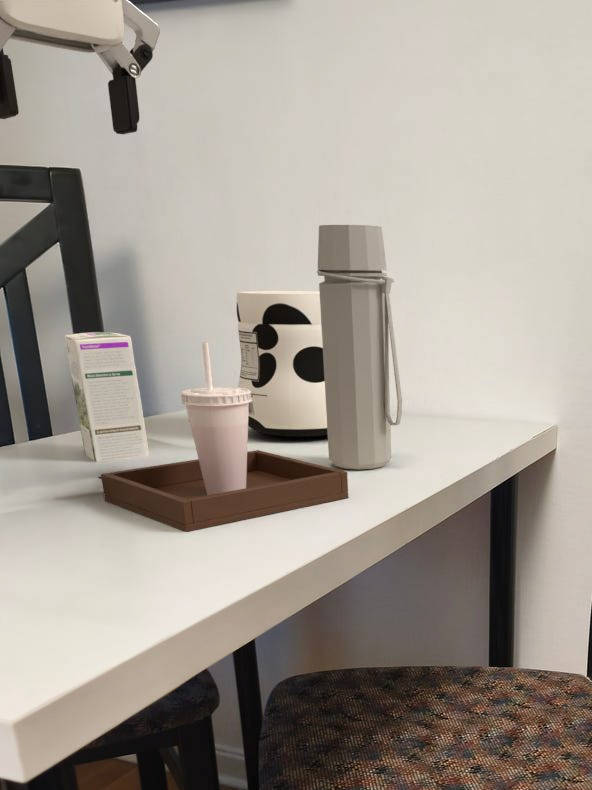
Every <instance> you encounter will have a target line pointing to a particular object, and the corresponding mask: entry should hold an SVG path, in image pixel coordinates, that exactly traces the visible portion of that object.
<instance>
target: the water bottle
mask: <svg viewBox="0 0 592 790" xmlns="http://www.w3.org/2000/svg"><path fill="white" fill-rule="evenodd" d="M317 240H318V243H317V271H316V273H317V276H318V277H323V279H324V281H322V282H320V283H318V288H319V289H318V291H320V309H321V326H322V344H323V362H324V379H325V397H326V415H327V432H328V435H327V446H328V447H327V448H328V449H327V450H328V459H329V460H330V462H331V463H332V464H333V465H334V466H335V467H337V468H340V469H344V470H355V471H356V470H357V471H363V470H374V469H380V468H383V467H384V466H386V465H387V464H389V462H390V461H391V459H392V435H391V434H392V433H391V426H398V425H399V426H400V424H401V419H402V413H403V411H402V410H403V395H402V388H401V381H400V373H399V372H400V371H399V364H398V357H397V356H398V355H397V348H396V340H395V339H396V338H395V333H394V323H393V316H392V307H391V299H390V294H391V289H392V284H393V283H394V282H395V280H394V278H392V277H389V276H388V274H387V273H385V272H384V271H386V272H387V270H388V269H387V262H386V261H387V260H386V252H385V245H384V235H383V227H382V226H381V225H367V224H363V225H362V224H321V225H318V239H317ZM390 345H391V346H390ZM390 347H391V355H392V363H393V364H392V365H393V372H394V373H393V374H394V382H395V391H396V400H397V406H396V408H397V409H396V419H395V422H393V419H392V416H391V400H390V398H391V397H390Z"/></svg>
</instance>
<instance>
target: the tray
mask: <svg viewBox="0 0 592 790" xmlns="http://www.w3.org/2000/svg"><path fill="white" fill-rule="evenodd" d="M100 477H101V485H102V492H103V499H104V501H105V502H108V503H110V504H113V505H116V506H119V507H121V508H122V509H123V508H124V509H126V510H129V511H130V512H131V511H132V512H133V513H137V514H139V515H142V516H145V517H147V518H150V519H152V520H155V521H157V522H160V523H162V524H165V525H168V526H170V527H173V528H175V529H177V530H181V531H184V532H191V531H195V530H201V529H205V528H206V529H207V528H210V527H215V526H220V525H225V524H229V523H230V524H231V523H235V522H238V521H239V522H240V521H245V520H249V519H253V518H258V517H263V516H268V515H272V514H277V513H283V512H286V511H293V510H296V509H301V508H306V507H311V506H317V505H320V504H326V503H330V502H335V501H340V500H344V499H348V498H349V485H348V484H349V481H348V480H349V479H348V472H347V471H345V470H341V469H336V468H333V467H328V466H325V465H321V464H316V463H312V462H308V461H303V460H300V459H296V458H291V457H289V456H284V455H279V454H275V453H271V452H268V451H263V450H259V449H256V450H250V451H247V477H246V488H245V489H240V490H234V491H229V492H223V493H218V494H212V495H207V492H206V488H205V484H204V480H203V476H202V472H201V467H200V463H199V459H197V458H196V459H191V460H185V461H183V460H182V461H176V462H171V463H163V464H157V465H150V466H144V467H138V468H132V469H125V470H117V471H112V472H111V471H110V472H105V473H101V474H100Z"/></svg>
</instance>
